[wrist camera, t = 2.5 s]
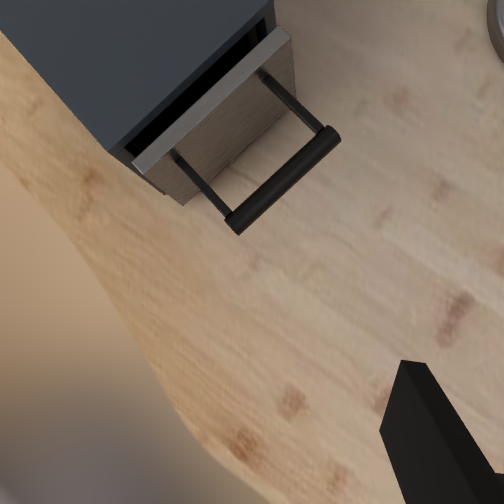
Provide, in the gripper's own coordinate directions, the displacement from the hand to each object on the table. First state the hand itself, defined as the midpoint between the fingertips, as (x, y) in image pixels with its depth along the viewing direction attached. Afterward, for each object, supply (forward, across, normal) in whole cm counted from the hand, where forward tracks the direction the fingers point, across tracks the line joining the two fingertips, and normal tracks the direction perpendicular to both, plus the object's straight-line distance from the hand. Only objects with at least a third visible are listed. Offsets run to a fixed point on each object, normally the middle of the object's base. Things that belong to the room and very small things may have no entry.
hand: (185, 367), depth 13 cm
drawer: (+26, -3, +6) cm, 26 cm away
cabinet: (+29, -7, +8) cm, 31 cm away
